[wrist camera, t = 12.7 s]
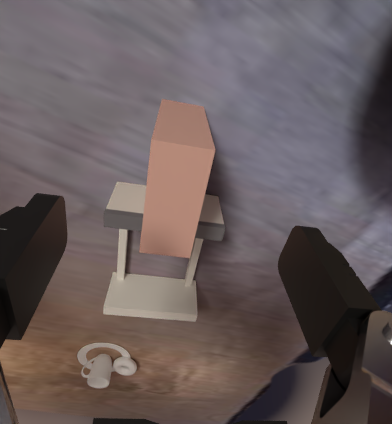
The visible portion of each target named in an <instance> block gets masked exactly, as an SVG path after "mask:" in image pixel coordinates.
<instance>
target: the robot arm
mask: <svg viewBox="0 0 392 424" xmlns="http://www.w3.org/2000/svg"><path fill="white" fill-rule="evenodd" d="M66 243H67V223H66V211H65V201H64V198H63V197H62V196H57V195H49V194H40V193H37V194H35V195H34V196H33V198H32V199H31V200H30V201H29V203H28V204H27V205H26V206H25V207H15V208H13V209H11V210H9V211H8V212H6V213H4V214H2V215H1V216H0V348H1V347H2V345H3V343H4V341H5V339H11V340H21V339H22V337H23V335H24V333H25V331H26V329H27V327H28V325H29V323H30V320H31V318H32V316H33V314H34V312H35V310H36V308H37V306H38V304H39V302H40V300H41V298H42V296H43V294H44V292H45V290H46V288H47V286H48V284H49V282H50V280H51V278H52V275H53V273H54V271H55V269H56V267H57V265H58V263H59V261H60V259H61V257H62V255H63V253H64V251H65V247H66ZM278 270H279V274H280V277H281V279H282V282H283V284H284V287H285V289H286V292H287V294H288V297H289V299H290V302H291V304H292V307H293V309H294V311H295V314H296V316H297V319H298V321H299V324H300V326H301V329H302V331H303V334H304V336H305V339H306V341H307V344H308V346H309V349H310V351H311V354H312V356H316V357H328V359H329V361H330V364H329V366H328V367H327V368H326V371H325V375H324V378H323V382H322V386H321V390H320V393H319V397H318V401H317V405H316V408H315V412H314V416H313V419H312V422H311V424H392V313H390V312H386V311H382V310H381V309H380V307H379V306H378V305H377V303H376V302H375V300H374V299H373V297H372V296H371V295H370V293H369V292H368V290H367V289H366V287H365V286H364V285H363V283H362V282H361V280H360V279H359V277H358V276H356V273H355V272H354V270H353V269H352V268H351V267H349V263H348V262H347V260H346V259H345V258H344V256H343V255H342V253H341V252H339V251H338V250H337V249H336V248H335V247H334V246H332V245H331V244H330V243H328V242H327V240H326V239H325V237H324V236H323V234H322V233H321V231H320V230H319V229H318V228H313V227H304V226H295V227H294V228H293V229H292V231H291V233H290V235H289V237H288V239H287V242H286V244H285V246H284V248H283V250H282V252H281V255H280V257H279V261H278ZM0 424H19V422H18V419H17V416H16V412H15V409H14V405H13V402H12V399H11V395H10V392H9V389H8V385H7V382H6V379H5V375H4V372H3V369H2V365H1V362H0ZM93 424H158V423H155V422H152V421H149V420H146V419H109V418H94V420H93ZM234 424H287V421H240V422H237V423H234Z"/></svg>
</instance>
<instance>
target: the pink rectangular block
mask: <svg viewBox="0 0 392 424" xmlns="http://www.w3.org/2000/svg"><path fill="white" fill-rule="evenodd" d="M214 154H215V147H214V143H213V140H212V136H211V132H210V128H209V125H208V121H207V117H206V114H205V110H204V107H202V106H197V105H192V104H186V103H181V102H176V101H170V100H165V99H162V102H161V105H160V109H159V113H158V117H157V121H156V124H155V128H154V132H153V136H152V140H151V149H150V158H149V167H148V177H147V186H146V195H145V204H144V214H143V223H142V232H141V242H140V251H139V252H140V253H149V254H158V255H167V256H176V257H184V258H190V256H191V251H192V247H193V243H194V239H195V234H196V230H197V226H198V222H199V218H200V213H201V209H202V205H203V201H204V196H205V192H206V188H207V184H208V180H209V175H210V171H211V167H212V163H213V158H214Z"/></svg>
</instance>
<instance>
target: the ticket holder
mask: <svg viewBox="0 0 392 424" xmlns="http://www.w3.org/2000/svg"><path fill="white" fill-rule="evenodd" d="M145 195H146V186H144V185H137V184H131V183H124V182H117V183H116V186H115V188H114V191H113V193H112V195H111V198H110V200H109V203H108V205H107V208H106V209H105V212H104V227H110V228H118V229H119V247H118V265H117V272H113V275H112V278H111V282H110V285H109V289H108V293H107V296H106V300H105V303H104V311H103V314H108V315H121V316H133V317H145V318H157V319H169V320H182V321H194V322H196V319H197V315H198V313H197V295H196V280H193V277H194V273H195V269H196V266H197V262H198V258H199V254H200V250H201V246H202V242H203V239H207V240H215V241H222V238H223V235H224V232H225V229H226V228H225V224H224V221H223V217H222V212H221V207H220V202H219V198H218V196H213V195H206V194H205V196H204V201H203V205H202V209H201V213H200V218H199V222H198V226H197V230H196V234H195V239H194V243H193V247H192V251H191V256H190V258H189V263H188V267H187V271H186V275H185V279H176V278H166V277H157V276H147V275H137V274H127V273H125V269H126V255H127V242H128V230H134V231H142V223H143V214H144V204H145Z"/></svg>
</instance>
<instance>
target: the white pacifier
mask: <svg viewBox="0 0 392 424" xmlns="http://www.w3.org/2000/svg"><path fill="white" fill-rule="evenodd" d="M97 347H108V348H112V349H115V350H117V351H119V352H120V353H121V354H122V356H123V357H119V358H117V359H116V360H115V361H114V363H113V366H112V359H111V357H110V356H109V355H107V354H100V355H98V356H97V357H95V358H93V359H91V360H90V361H88V360H87V359H86V354H87V352H88V351H89V350H91V349H93V348H97ZM77 358H78V361H79V362H80V363H81V364H82V365H83V366H84V367H83V368H82V370H81V375H82V376H83V377H84V378H88V379H87V384H88V385H89V386H91V387H93V388H105V387H107V386H108V385H109V383H110V376H111V372H114V371H116V372H117V373H119V374H121V375H126V376H128V375H132V374H134V373H135V372H136V370H137V365H136V363H135V361H134V360H132V359H131V357H130V354H129V353H128V352H127V351H126V350H125V349H124V348H122V347H120V346H118V345H115V344H111V343H92V344H89V345H86V346H84V347H82V348H81V349H80V350H79V352H78V354H77ZM92 361H94V362H93V364H91V363H90V362H92ZM85 367H86V368H88V369H91V370H90V373H89V374H88V375H85V374H84V373H83V370H84V368H85Z"/></svg>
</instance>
